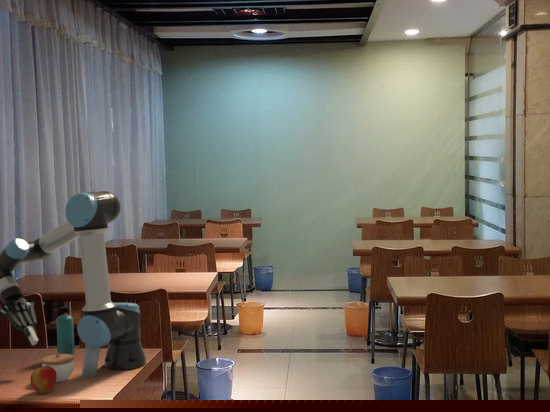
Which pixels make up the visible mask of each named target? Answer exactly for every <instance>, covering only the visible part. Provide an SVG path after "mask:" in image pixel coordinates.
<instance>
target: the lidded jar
mask: <svg viewBox="0 0 550 412" xmlns="http://www.w3.org/2000/svg"><path fill="white" fill-rule="evenodd" d="M74 360H75V357H74V354H73V355H70V354H59V353H58V352H56V353H55V354H51V355H46V356H44V357H43V358H42V359H41V365H42V367H43V366H51V367H52V368H53V369H54V370H55V371H56V374H57V378H56V383H63V382H66V381H68V380H69V378H70V377H71V376H72V374H73V371H74V365H75V364H74V363H75V361H74Z"/></svg>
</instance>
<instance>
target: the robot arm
mask: <svg viewBox="0 0 550 412" xmlns="http://www.w3.org/2000/svg"><path fill="white" fill-rule="evenodd" d="M64 213H65V218H66V221H64V222H63V223H61V224H60V225H58V226H56V227H54V228H53V229H51V230H49V231H47V232H46V233H44V234H43V235H40V236H39V237H38V238H36V239H34V240H31V241H26V240H25V239H22V238H19V237H15V238H13V239H12V240H10V241H9V242H8V243H7V244H6V246H5V247H4V249H3V250H2V251H1V252H0V301H1V303H2V304H3V306H2V307H1V309H0V314H2V315H3V316H4V317H5V318H6V319H7V320H8V321H9V323H10V325H12V327H13V328H14V329H15V330H16V331H19V330H20V332H21V333H23V334H24V336H25V337H26V338H27V339H28V340H29V342H30V344H31V346H35V345H37V344H38V342H39V338H38V336H37V330H36V329H35V327H36V325H37V323H38V322H37V316H36V312H35V309H34V306H35V301H31V302H28V301H27V300H26V299H25V298H24V294H23V292H22V290H21V288H20V287H19V284H18V283H17V280H16V279H15V277H14V275H13V271H14V270H15V269H16V268H17V267H18V266H19V264H23V263H29V262H33V261H41V260H45V259H48V258H50V257H52V255H53V253H54V252H55V251H57V250H59V249H61V248H63V247H64V246H66V245H67V244H69V243H72V241H75V240H76V239H79V247H80V258H81V265H82V266H81V267H82V276H83V284H84V286H83V287H84V295H85V296H84V297H85V305H84V306H83V308H82V309H81V310H82V311H81V312H82V317H81V318H80V319H79V321H78V323H77V328H76V329H77V335H78V337H79V338H80V341H81V342H82V343H84V344H85V346H86V345H87V346H90V347H94V348H96V347H100V348H101V347H105V346H107V345H108V346H107V350H106V354H105V356H104V368H106V369H108V370H116V371H118V370H119V371H124V370H134V369H137V368H140V367H141V368H142V367H143V366H145V365H146V364H147V356H146V353H145V351H144V348H143V346H142V342H141V311H140V306H139V305H138V304H137V303H134V302H113V301H112V299H111V288H110V280H109V278H110V277H109V268H108V260H107V259H108V258H107V251H106V250H107V249H106V240H105V233H106V232H107V230H108V229H109V227H108V226H109V224H110V223H112V222H113V221H115V220H116V219H117V218H118V217H119V215H120V213H121V202H120V201H119V198H118V197H117V196H116V195H115V194H114V193H112V192H110V191H105V190H102V191H84V192H80V193H79V192H78V193H75V194H73V195H72V196H71V197H70V198H69V199H68V201H67V202H66V205H65V211H64Z"/></svg>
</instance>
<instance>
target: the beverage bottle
mask: <svg viewBox="0 0 550 412" xmlns="http://www.w3.org/2000/svg"><path fill="white" fill-rule="evenodd" d="M58 313H59V314H61V315H59V316H58V317H56V319H55V321H56V341H57V343H56V345H57V350H56V351H57V352H56V353H59V354H70V355H73V356H74V354H75V351H76V350H75V349H76V347H75V344H76V343H75V331H74V329H75V328H74V318H73V316H72V315H70V314H69V313H71V309H70V306H60V307H59V308H58Z"/></svg>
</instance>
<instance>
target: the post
mask: <svg viewBox="0 0 550 412" xmlns="http://www.w3.org/2000/svg"><path fill="white" fill-rule="evenodd" d="M100 352H101V347H96V348H94V347H90V346H87V345H86V344H85V349H84V356H83V357H84V358H83V362H82V372H81V376H82V377H84V378H85V377H86V378H89V377H90V378H91V377H95V376H96V375H97V372H98V366H99V359H100Z"/></svg>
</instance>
